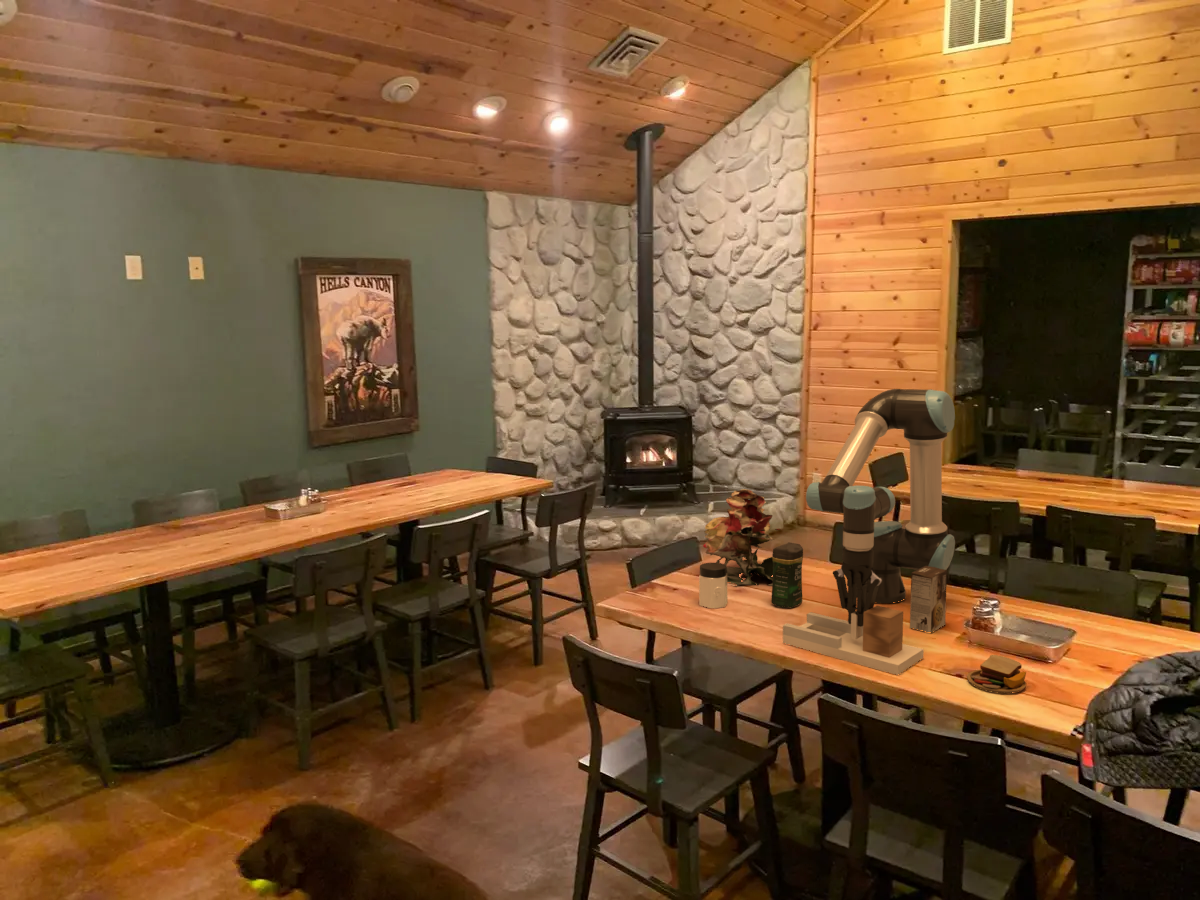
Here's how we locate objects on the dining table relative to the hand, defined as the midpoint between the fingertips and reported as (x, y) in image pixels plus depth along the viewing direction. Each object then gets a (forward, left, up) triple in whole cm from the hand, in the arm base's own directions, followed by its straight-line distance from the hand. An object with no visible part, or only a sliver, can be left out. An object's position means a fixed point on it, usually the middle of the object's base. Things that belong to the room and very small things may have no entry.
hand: (856, 637), depth 221 cm
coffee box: (-26, -15, -4) cm, 31 cm away
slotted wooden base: (+1, -1, -4) cm, 4 cm away
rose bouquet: (+12, -71, -4) cm, 72 cm away
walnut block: (-5, +6, -2) cm, 8 cm away
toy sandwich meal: (-25, +22, -5) cm, 34 cm away
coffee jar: (+6, -40, -4) cm, 41 cm away
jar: (+28, -43, -4) cm, 51 cm away
